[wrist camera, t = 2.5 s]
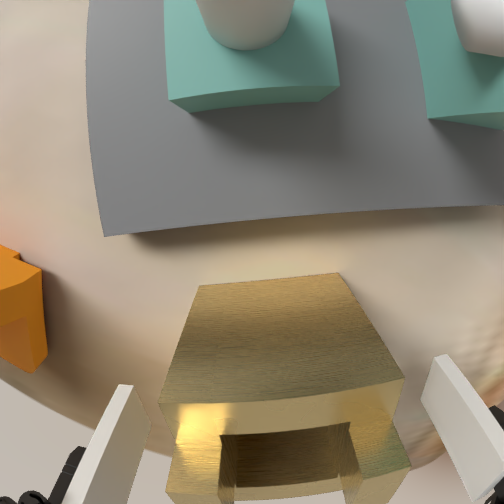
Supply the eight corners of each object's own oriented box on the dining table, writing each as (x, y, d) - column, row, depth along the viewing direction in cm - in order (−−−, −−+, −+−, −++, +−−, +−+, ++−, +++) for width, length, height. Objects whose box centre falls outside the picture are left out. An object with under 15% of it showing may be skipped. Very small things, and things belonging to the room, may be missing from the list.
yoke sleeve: (219, 387, 17) (203, 535, 8) (199, 285, 15) (140, 457, 5) (333, 376, 17) (375, 519, 7) (338, 272, 15) (432, 426, 5)
